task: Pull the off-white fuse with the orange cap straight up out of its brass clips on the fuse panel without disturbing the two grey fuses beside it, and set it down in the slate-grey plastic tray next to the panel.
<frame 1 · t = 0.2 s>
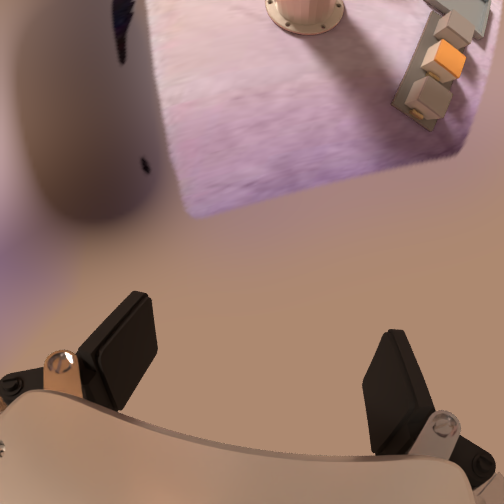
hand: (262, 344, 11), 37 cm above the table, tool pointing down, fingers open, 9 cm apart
fuse 2: (446, 35, 28), point 1 cm above the table, touching fuse panel
fuse 1: (420, 100, 34), point 1 cm above the table, touching fuse panel
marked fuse: (435, 65, 31), point 1 cm above the table, touching fuse panel
fuse panel: (433, 66, 32), on the table
tray: (456, 0, 24), on the table
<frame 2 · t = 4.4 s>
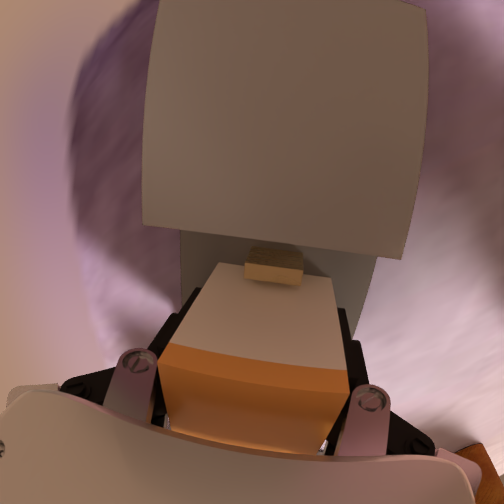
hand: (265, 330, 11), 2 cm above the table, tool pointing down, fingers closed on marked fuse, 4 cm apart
fuse 1: (291, 123, 9), point 1 cm above the table, touching fuse panel
disposable coffee cup: (458, 457, 18), on the table
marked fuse: (268, 317, 12), point 1 cm above the table, touching fuse panel, gripper
fuse panel: (270, 305, 13), on the table
when the fingers open (2 cm above the table, at t = 11.8 s): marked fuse stays where it is, resting on tray.
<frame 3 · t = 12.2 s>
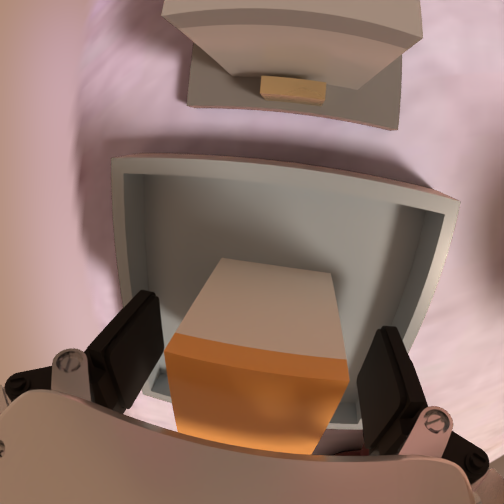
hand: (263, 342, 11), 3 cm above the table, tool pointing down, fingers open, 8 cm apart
fuse 2: (299, 27, 8), point 1 cm above the table, touching fuse panel
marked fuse: (269, 311, 13), point 1 cm above the table, touching tray
tray: (270, 302, 13), on the table
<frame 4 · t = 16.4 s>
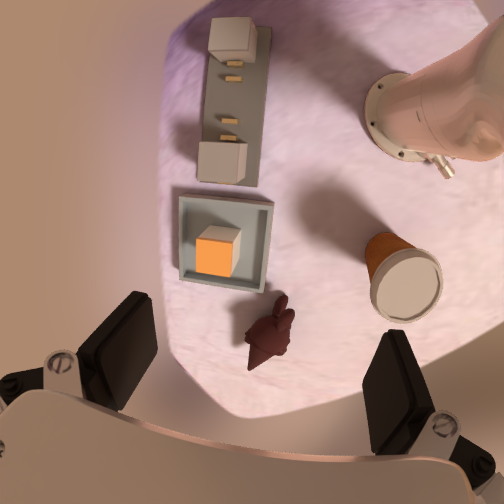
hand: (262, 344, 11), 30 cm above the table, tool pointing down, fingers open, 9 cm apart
fuse 2: (229, 159, 37), point 1 cm above the table, touching fuse panel
fuse 1: (239, 47, 31), point 1 cm above the table, touching fuse panel
disposable coffee cup: (384, 252, 39), on the table
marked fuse: (224, 242, 42), point 1 cm above the table, touching tray
fuse panel: (235, 102, 35), on the table
tray: (225, 240, 42), on the table
icecream: (270, 326, 47), on the table
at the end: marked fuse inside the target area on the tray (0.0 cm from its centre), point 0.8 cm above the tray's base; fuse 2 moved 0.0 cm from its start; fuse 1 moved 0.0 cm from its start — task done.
